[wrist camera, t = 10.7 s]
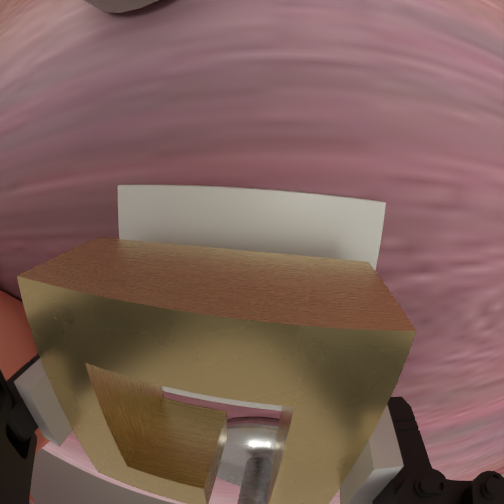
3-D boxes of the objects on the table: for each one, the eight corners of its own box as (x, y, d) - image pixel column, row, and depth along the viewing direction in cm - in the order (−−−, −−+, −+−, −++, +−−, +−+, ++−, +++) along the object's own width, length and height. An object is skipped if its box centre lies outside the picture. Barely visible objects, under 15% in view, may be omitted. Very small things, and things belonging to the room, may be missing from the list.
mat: (124, 184, 13) (117, 185, 13) (381, 201, 12) (385, 202, 11) (144, 379, 17) (140, 385, 16) (335, 406, 15) (336, 413, 15)
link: (99, 237, 9) (16, 275, 6) (368, 261, 8) (416, 330, 5) (133, 414, 12) (98, 471, 8) (317, 446, 11) (317, 518, 7)
